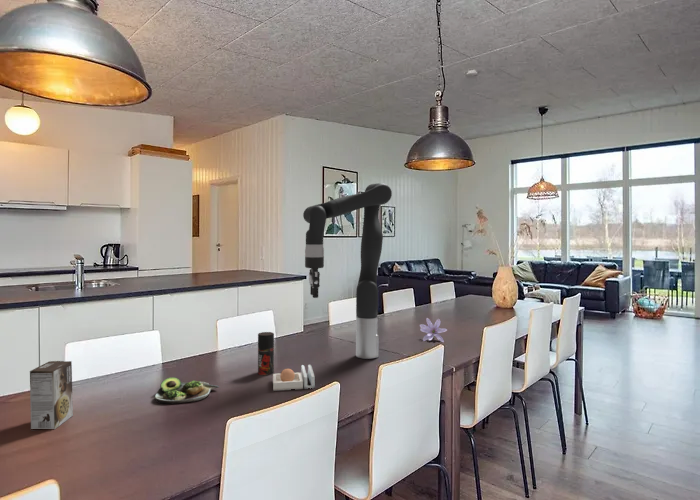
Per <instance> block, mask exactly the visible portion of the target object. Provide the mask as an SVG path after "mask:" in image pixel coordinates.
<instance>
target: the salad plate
mask: <svg viewBox="0 0 700 500" xmlns="http://www.w3.org/2000/svg"><path fill="white" fill-rule="evenodd" d="M159 387H160V388H159V389H158V390H157V392H156V393H155V395H154V398H153V399H154V400H155V401H154V402H157V403H158V404H163V405H172V404H173V405H174V404H182V403H191V402H196V401H200V400H204V399H205V398H208V396H209V395H210V392H211V391H212V390H213V389H218V388H220V386H219V385H215V384H209V382H205V381H200V380H199V381H198V380H191V381H189V382H187V381H185V382H184V381H181V379H179V378H178V377H167V378H165V379H163V381H162V382H161V383H160V386H159ZM192 396H193V398H189V397H192ZM195 396H196V397H195ZM186 398H187V399H186Z"/></svg>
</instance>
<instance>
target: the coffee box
mask: <svg viewBox="0 0 700 500" xmlns="http://www.w3.org/2000/svg"><path fill="white" fill-rule="evenodd" d="M72 362H73V361H72V360H71V361H66V360H65V361H64V360H52V361H51V360H50V361H48V362H45V363H43V364H41V365H39V366H38V367H35V368H33V369H31V370H30V371H29V387H30V389H29V390H30V391H29V392H30V393H29V394H30V395H29V396H30V397H29V398H30V430H31V429H54V430H56V429H57V428H59V427H60V426H61V425H63V424H64V423H65V422H66V421H68V420H69V419H71V417H73V415H74V414H73V413H74V409H73V405H74V404H73V402H74V401H73V370H72V369H73V368H72V366H73V365H72Z"/></svg>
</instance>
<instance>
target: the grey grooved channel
mask: <svg viewBox="0 0 700 500" xmlns="http://www.w3.org/2000/svg"><path fill="white" fill-rule="evenodd" d="M300 369H301V370H300V372H301V375H302V379H303V389H304V390H308V388H310V389H311V388H312V389H315V388H316V386H315V384H316V383H315V382H316V381H315V379H316V378H315V377H316V376H315V373H314V371H313V367H312V365H311V364H308V365H307V370H306V367H305V365H303V364H302V365H301V367H300ZM308 382H309V384H310V385H309V384H308ZM310 389H309V390H310Z"/></svg>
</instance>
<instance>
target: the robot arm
mask: <svg viewBox="0 0 700 500" xmlns="http://www.w3.org/2000/svg"><path fill="white" fill-rule="evenodd" d="M392 191H393V190H392V188H391V187H390V186H389V184H386V183H383V182H379V183H371V184H369V185H367V187H366V188H365V189H364V191H363V192H359V193H356V194H355V193H354V194H350V195H346V196H340V197H338V198H334V199H331V200H329V201H326V202H322V203H319V204H315V205H311V206H308V207H307V208H305V209H304V211H303V214H302V216H303V220H304V221H305V222H306V223H307V224H309V225H308V230H307V231H306V233H305V249H304V267H305V268H306V269H309V272H308V276H309V278H308V281H309V282H308V283H309V286H310V288H309V289H310V290H309V291H310V295H311V296H312V299H313V298H314V299H318V298H319V288H320V286H321V285H320V280H321V279H320V276H321V274H320V271H319V269H323V268H324V266H325V249H324V232H325V228H326V224H327V223H326V222H327V219H332V218H337V217H340V216H343V215H345V214H348V213H351V212H352V213H353V212H354V211H358V210H360V209H363V220H362V221H363V222H362V223H363V224H362V231H361V232H362V233H361V241H360V272H359V277H358V282H357V286H356V294H355V300H356V301H355V304H356V305H355V306H356V307H355V315H356V316H355V319H356V320H355V321H356V322H355V329H356V331H355V357H356V358H359V359H362V360H363V359H364V360H365V359H366V360H368V359H369V360H370V359H375V358H379V340H380V339H379V334H378V311H379V309H378V308H379V290H378V283H377V281H378V267H379V264H380V263H379V262H380V260H381V254H382V251H383V250H382V249H383V240H384V239H383V238H384V234H383V229H382V226H381V223H380V216H379V215H380V213H379V212H380V206H381V205H386V204H387V203H388V202H389V201H391V199H392V195H393V192H392Z"/></svg>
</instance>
